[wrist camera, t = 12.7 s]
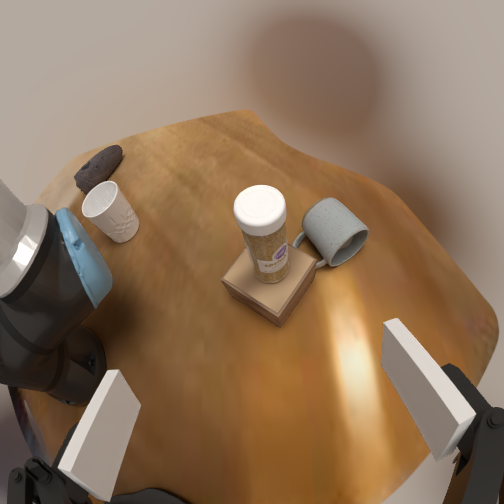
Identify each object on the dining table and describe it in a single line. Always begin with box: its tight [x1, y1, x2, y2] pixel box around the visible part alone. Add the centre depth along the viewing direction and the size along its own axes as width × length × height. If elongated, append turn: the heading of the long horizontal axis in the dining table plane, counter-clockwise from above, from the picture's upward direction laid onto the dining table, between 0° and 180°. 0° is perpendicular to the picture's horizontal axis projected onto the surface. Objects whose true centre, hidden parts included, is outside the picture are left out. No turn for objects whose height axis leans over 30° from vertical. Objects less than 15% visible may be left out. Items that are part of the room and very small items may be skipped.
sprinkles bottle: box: [234, 185, 289, 283], centre depth 29 cm, size 5×5×14 cm
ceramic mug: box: [293, 197, 369, 269], centre depth 39 cm, size 11×8×8 cm
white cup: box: [82, 181, 140, 243], centre depth 46 cm, size 8×8×10 cm
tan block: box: [221, 243, 317, 327], centre depth 38 cm, size 9×9×6 cm
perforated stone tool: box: [74, 145, 123, 195], centre depth 57 cm, size 15×5×7 cm, turn 147°
